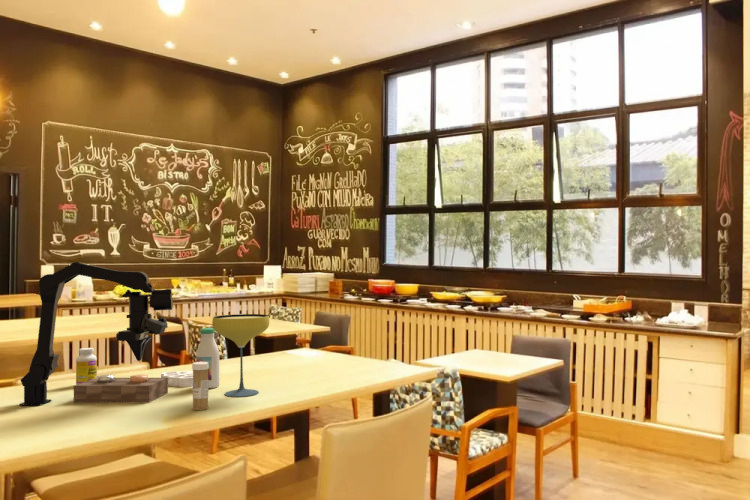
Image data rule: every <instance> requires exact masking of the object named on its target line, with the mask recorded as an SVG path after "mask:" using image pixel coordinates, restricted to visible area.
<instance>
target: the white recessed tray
mask: <svg viewBox="0 0 750 500" xmlns="http://www.w3.org/2000/svg"><path fill="white" fill-rule="evenodd" d="M160 378H168V387H169V386H170V387H180V388H189V387H193V371H191V370H183V371H163V372H161V374H160Z"/></svg>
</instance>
